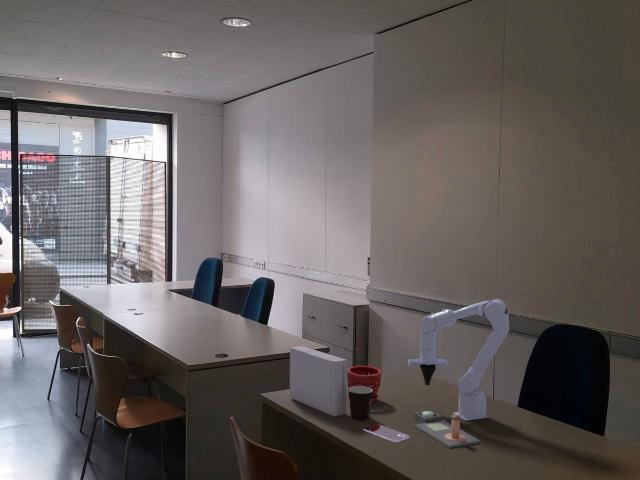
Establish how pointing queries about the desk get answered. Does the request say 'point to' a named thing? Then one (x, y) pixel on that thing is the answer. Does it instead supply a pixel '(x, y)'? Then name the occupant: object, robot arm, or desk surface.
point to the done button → (427, 414)
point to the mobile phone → (386, 433)
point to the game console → (318, 380)
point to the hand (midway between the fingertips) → (427, 384)
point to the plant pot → (365, 379)
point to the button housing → (422, 419)
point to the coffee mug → (360, 402)
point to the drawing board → (446, 434)
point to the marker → (455, 427)
